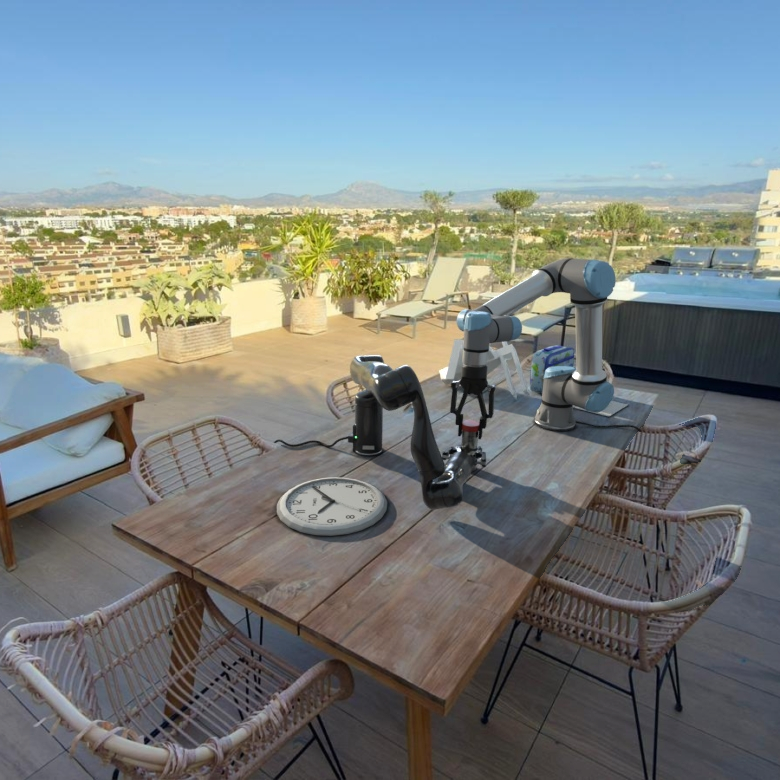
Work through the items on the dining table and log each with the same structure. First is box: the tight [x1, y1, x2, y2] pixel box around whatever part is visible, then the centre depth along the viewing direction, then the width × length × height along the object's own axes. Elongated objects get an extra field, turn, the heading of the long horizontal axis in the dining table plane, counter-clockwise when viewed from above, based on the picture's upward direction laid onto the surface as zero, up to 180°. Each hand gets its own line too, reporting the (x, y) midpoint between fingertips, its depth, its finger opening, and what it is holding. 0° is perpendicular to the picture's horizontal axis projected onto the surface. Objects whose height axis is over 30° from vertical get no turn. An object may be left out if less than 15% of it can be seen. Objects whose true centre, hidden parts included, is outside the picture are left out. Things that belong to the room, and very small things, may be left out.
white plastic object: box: [438, 338, 531, 400], centre depth 245 cm, size 37×45×31 cm
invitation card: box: [573, 400, 629, 418], centre depth 226 cm, size 21×1×15 cm
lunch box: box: [529, 345, 575, 394], centre depth 245 cm, size 26×11×21 cm, turn 134°
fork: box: [403, 402, 413, 411], centre depth 222 cm, size 3×16×2 cm, turn 160°
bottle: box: [461, 430, 479, 472], centre depth 164 cm, size 5×5×15 cm
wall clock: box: [276, 476, 388, 537], centre depth 142 cm, size 30×2×30 cm
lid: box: [461, 419, 479, 433], centre depth 162 cm, size 6×6×2 cm
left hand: (470, 447), depth 167 cm, fingers closed on bottle, 5 cm apart
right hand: (470, 436), depth 163 cm, fingers closed on lid, 6 cm apart
